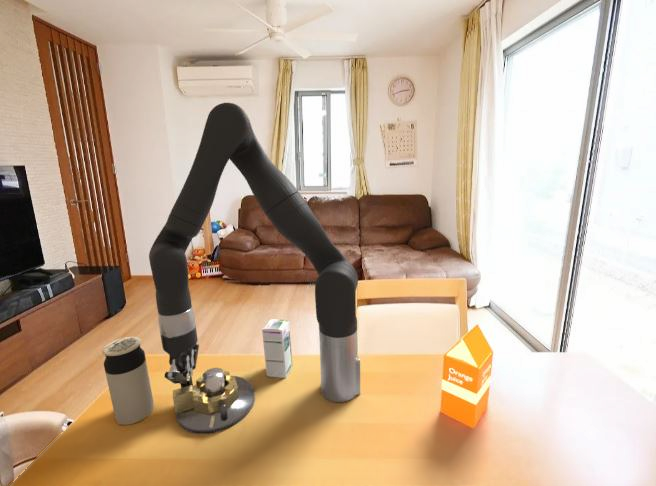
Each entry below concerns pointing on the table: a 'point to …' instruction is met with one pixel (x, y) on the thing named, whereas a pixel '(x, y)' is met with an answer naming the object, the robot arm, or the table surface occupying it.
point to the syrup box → (277, 348)
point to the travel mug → (128, 380)
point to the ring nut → (205, 397)
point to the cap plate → (225, 417)
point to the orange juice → (467, 378)
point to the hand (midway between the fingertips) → (187, 391)
